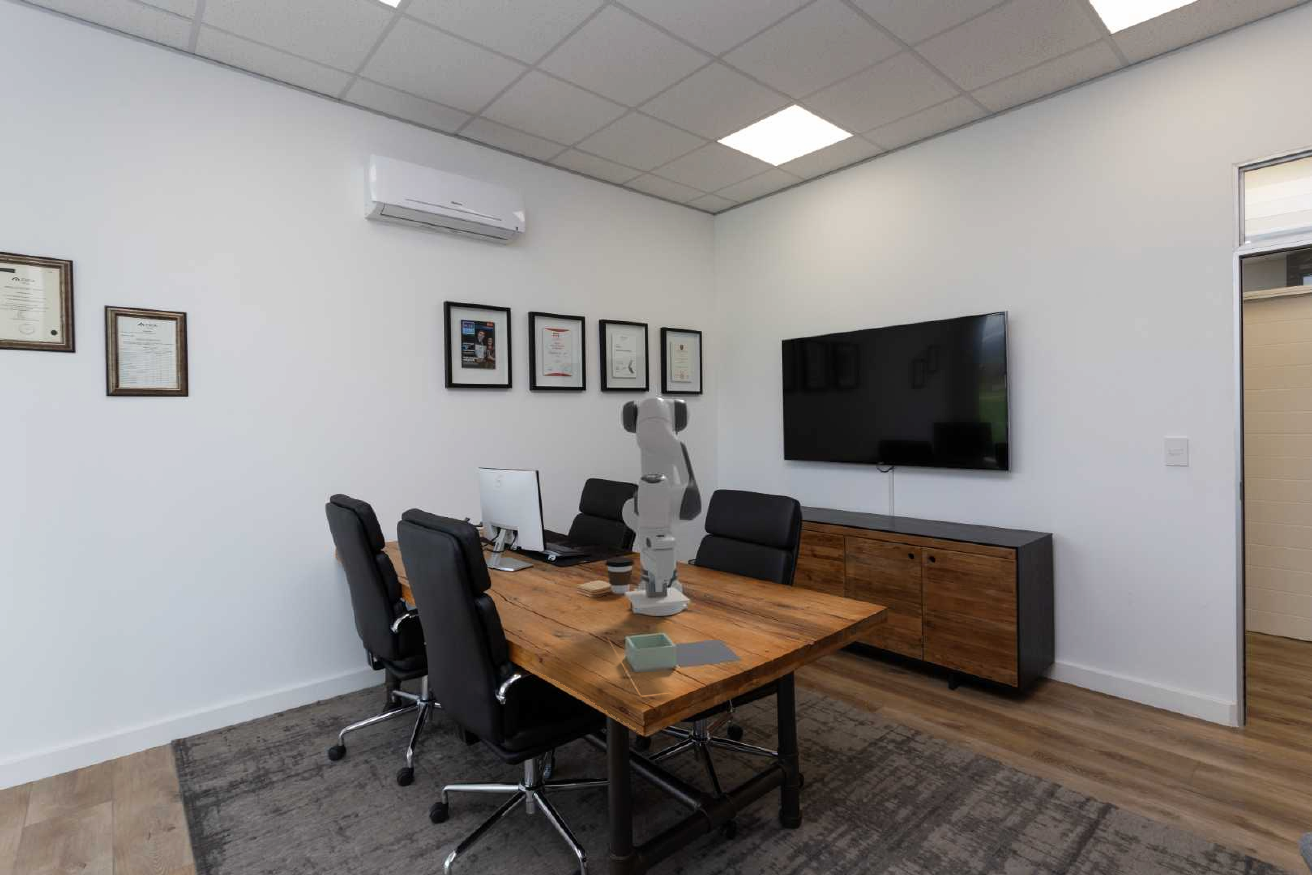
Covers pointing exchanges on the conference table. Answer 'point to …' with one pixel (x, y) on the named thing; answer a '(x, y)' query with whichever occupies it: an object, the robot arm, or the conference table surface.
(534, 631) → the conference table surface
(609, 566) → the coffee cup
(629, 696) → the conference table surface
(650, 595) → the lid
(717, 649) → the mat
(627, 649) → the pale green open box
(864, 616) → the conference table surface
